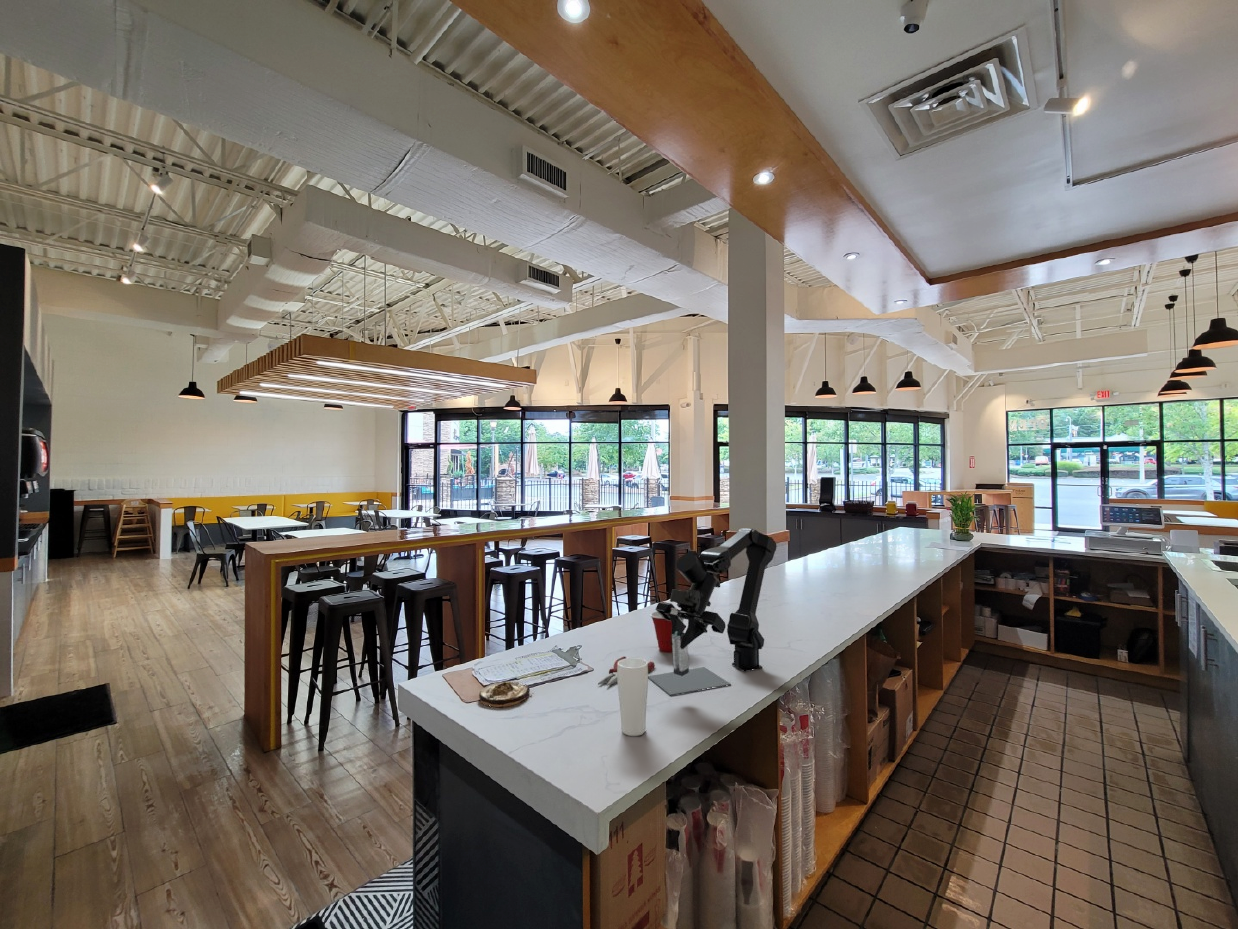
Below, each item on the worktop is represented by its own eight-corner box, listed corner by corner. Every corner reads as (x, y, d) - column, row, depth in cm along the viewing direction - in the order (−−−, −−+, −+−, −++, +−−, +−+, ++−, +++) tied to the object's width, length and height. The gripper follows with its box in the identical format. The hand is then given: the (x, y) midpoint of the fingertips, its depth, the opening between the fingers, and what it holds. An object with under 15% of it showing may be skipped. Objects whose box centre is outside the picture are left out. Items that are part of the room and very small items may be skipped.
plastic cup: (661, 642, 182) (661, 606, 182) (690, 647, 176) (689, 610, 176) (644, 651, 173) (643, 613, 174) (673, 657, 167) (672, 618, 167)
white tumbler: (616, 725, 121) (615, 658, 122) (646, 723, 122) (645, 656, 122) (619, 740, 115) (618, 668, 115) (651, 738, 115) (649, 667, 116)
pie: (508, 716, 128) (508, 699, 128) (462, 705, 135) (461, 688, 135) (545, 694, 141) (545, 678, 141) (501, 684, 148) (501, 669, 148)
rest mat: (704, 668, 157) (704, 667, 157) (730, 685, 144) (730, 683, 144) (647, 677, 150) (647, 676, 150) (670, 696, 137) (670, 694, 137)
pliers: (584, 685, 147) (584, 675, 147) (622, 663, 164) (622, 654, 164) (620, 693, 141) (620, 683, 141) (656, 670, 158) (656, 661, 158)
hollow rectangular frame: (680, 669, 138) (678, 628, 138) (688, 672, 136) (686, 630, 136) (673, 673, 136) (671, 631, 136) (682, 676, 134) (679, 633, 134)
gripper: (658, 571, 145) (632, 623, 137) (716, 581, 132) (692, 639, 124) (677, 593, 151) (654, 644, 143) (735, 604, 138) (713, 661, 130)
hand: (676, 647), depth 135 cm, fingers closed on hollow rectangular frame, 3 cm apart
